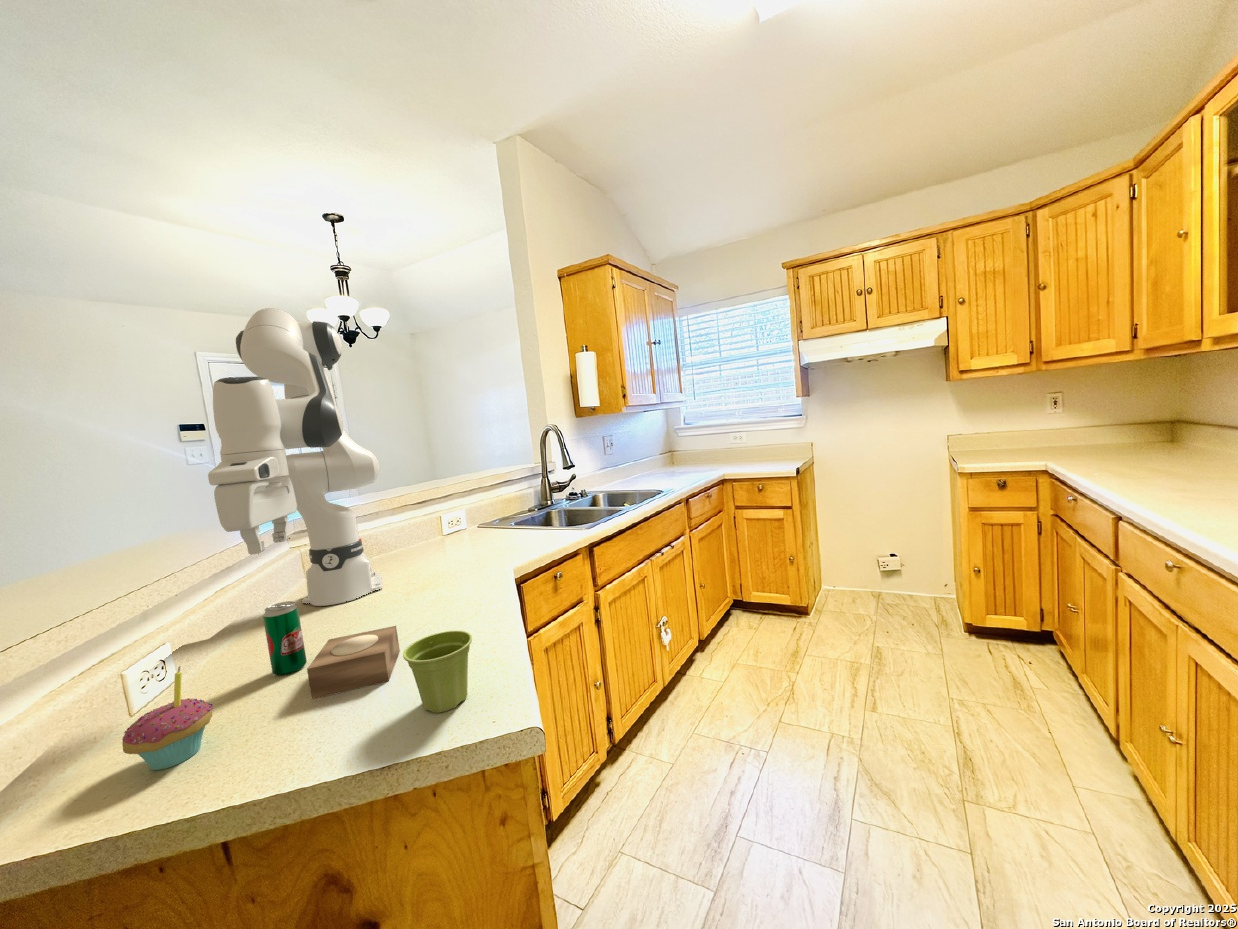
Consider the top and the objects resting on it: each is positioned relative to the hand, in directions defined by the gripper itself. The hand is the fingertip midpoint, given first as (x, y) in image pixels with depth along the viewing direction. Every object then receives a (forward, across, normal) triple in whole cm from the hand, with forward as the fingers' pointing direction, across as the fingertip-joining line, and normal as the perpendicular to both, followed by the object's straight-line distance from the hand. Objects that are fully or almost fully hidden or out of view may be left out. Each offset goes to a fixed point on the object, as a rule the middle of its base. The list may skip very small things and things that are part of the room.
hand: (269, 547), depth 80 cm
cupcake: (+23, +21, -6) cm, 32 cm away
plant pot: (+23, +24, +28) cm, 43 cm away
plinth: (+23, +8, +13) cm, 27 cm away
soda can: (+23, 0, 0) cm, 23 cm away
